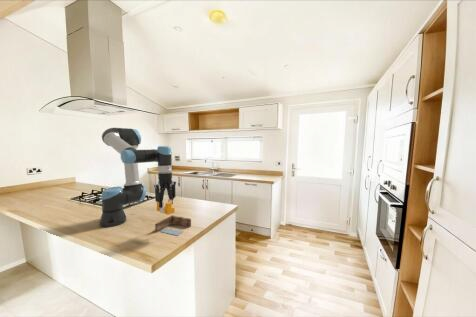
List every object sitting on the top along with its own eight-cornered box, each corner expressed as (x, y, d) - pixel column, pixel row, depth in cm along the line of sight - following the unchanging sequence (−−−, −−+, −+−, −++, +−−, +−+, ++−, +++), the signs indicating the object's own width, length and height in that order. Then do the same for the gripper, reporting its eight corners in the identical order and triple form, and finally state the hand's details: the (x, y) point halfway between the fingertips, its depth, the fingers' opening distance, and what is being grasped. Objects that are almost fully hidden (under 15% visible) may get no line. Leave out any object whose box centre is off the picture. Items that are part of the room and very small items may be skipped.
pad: (160, 231, 113) (160, 231, 113) (166, 228, 118) (166, 227, 118) (177, 235, 109) (177, 235, 109) (183, 232, 113) (183, 231, 113)
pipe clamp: (174, 212, 109) (174, 201, 109) (167, 214, 106) (167, 203, 106) (163, 208, 117) (163, 198, 117) (156, 210, 114) (156, 200, 113)
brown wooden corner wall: (155, 231, 114) (155, 223, 113) (172, 222, 127) (172, 215, 127) (175, 236, 108) (175, 228, 108) (191, 226, 122) (190, 218, 121)
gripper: (155, 174, 100) (156, 217, 102) (181, 171, 115) (182, 208, 116) (147, 173, 104) (148, 214, 106) (173, 170, 119) (174, 206, 120)
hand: (166, 211), depth 111 cm, fingers closed on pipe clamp, 5 cm apart
